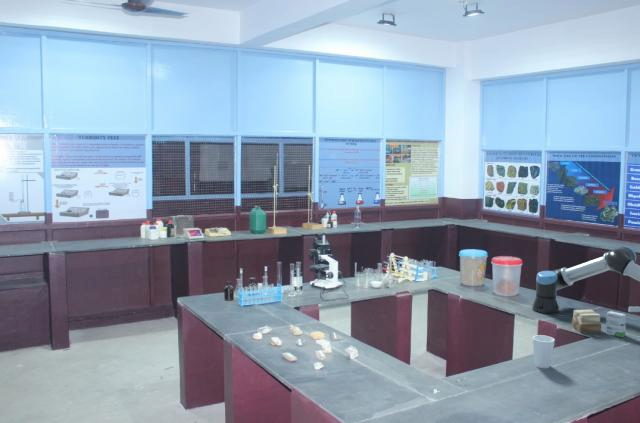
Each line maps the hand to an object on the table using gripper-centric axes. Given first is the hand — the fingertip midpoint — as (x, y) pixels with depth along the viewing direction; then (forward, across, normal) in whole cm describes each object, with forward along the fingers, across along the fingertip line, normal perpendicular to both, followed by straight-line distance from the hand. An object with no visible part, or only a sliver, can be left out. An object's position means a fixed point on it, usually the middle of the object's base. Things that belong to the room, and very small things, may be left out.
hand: (635, 313), depth 300 cm
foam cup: (+65, -41, -12) cm, 78 cm away
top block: (+22, +8, -7) cm, 25 cm away
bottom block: (+22, +8, -12) cm, 27 cm away
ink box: (+10, 0, -12) cm, 16 cm away
